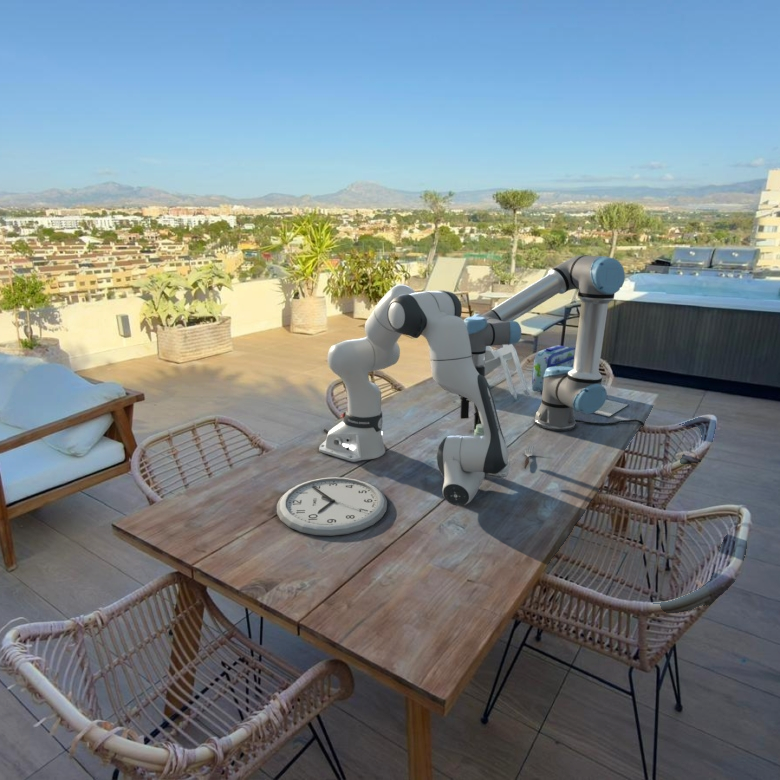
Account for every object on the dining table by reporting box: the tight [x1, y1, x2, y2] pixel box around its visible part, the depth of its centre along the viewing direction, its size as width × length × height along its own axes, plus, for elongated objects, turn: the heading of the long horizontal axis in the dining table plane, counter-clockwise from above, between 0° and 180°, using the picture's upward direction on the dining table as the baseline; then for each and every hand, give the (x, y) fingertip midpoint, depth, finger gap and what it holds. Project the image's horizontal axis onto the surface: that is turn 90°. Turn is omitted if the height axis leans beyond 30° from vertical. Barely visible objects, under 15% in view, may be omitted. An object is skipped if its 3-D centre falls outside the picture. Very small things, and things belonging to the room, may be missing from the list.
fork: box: [524, 445, 535, 469], centre depth 172 cm, size 3×16×2 cm, turn 160°
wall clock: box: [276, 476, 388, 537], centre depth 142 cm, size 30×2×30 cm
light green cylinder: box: [473, 424, 484, 436], centre depth 161 cm, size 4×4×16 cm
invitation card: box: [593, 399, 629, 418], centre depth 226 cm, size 21×1×15 cm
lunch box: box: [531, 345, 576, 393], centre depth 245 cm, size 26×11×21 cm, turn 134°
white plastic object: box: [484, 344, 531, 400], centre depth 245 cm, size 37×45×31 cm
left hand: (480, 452), depth 162 cm, fingers closed on light green cylinder, 4 cm apart
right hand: (471, 425), depth 178 cm, fingers open, 13 cm apart
